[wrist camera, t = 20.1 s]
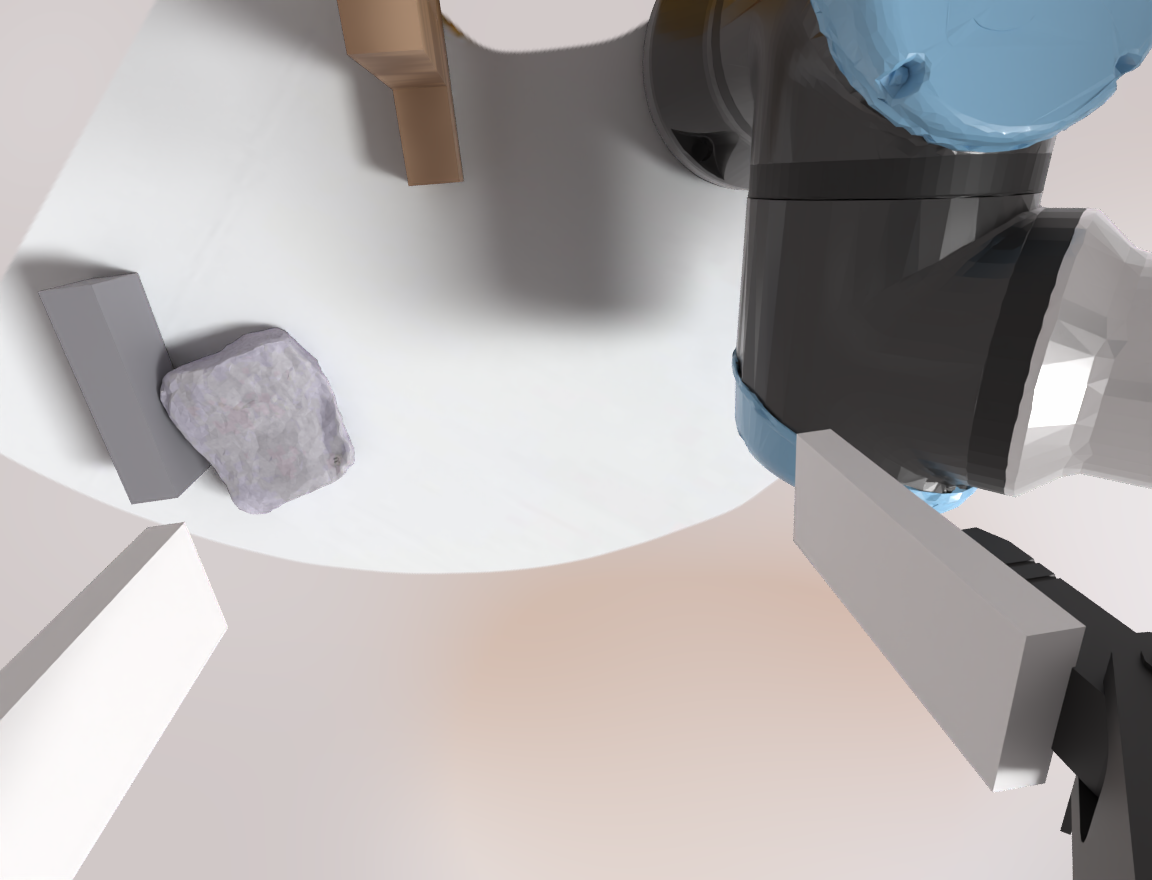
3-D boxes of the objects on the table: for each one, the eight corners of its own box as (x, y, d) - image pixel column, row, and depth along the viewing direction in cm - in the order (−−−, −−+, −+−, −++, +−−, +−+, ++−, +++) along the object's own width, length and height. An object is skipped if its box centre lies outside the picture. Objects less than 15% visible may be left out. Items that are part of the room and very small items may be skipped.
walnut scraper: (430, -65, 36) (384, -215, 22) (463, 181, 41) (442, 183, 27) (377, -62, 36) (296, -212, 22) (417, 185, 41) (372, 189, 27)
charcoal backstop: (137, 273, 41) (91, 284, 36) (210, 466, 46) (177, 497, 42) (90, 278, 41) (37, 291, 36) (168, 471, 46) (131, 504, 42)
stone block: (293, 308, 45) (158, 372, 44) (286, 318, 40) (136, 389, 39) (378, 445, 50) (260, 506, 49) (380, 467, 46) (249, 534, 44)
